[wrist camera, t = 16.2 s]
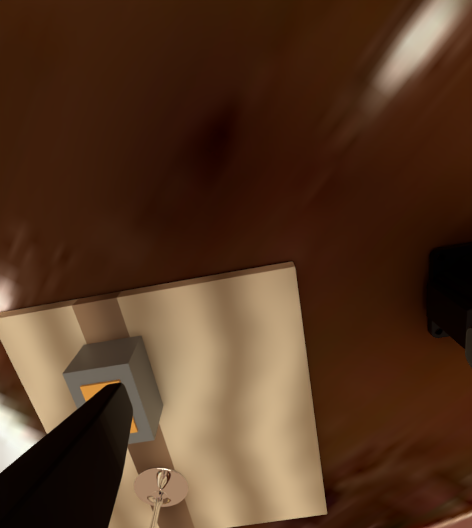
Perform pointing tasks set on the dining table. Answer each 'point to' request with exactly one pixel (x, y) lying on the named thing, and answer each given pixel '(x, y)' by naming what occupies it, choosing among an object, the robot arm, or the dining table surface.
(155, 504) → the wineglass
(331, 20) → the dining table surface
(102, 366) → the block
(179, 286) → the subfloor board
